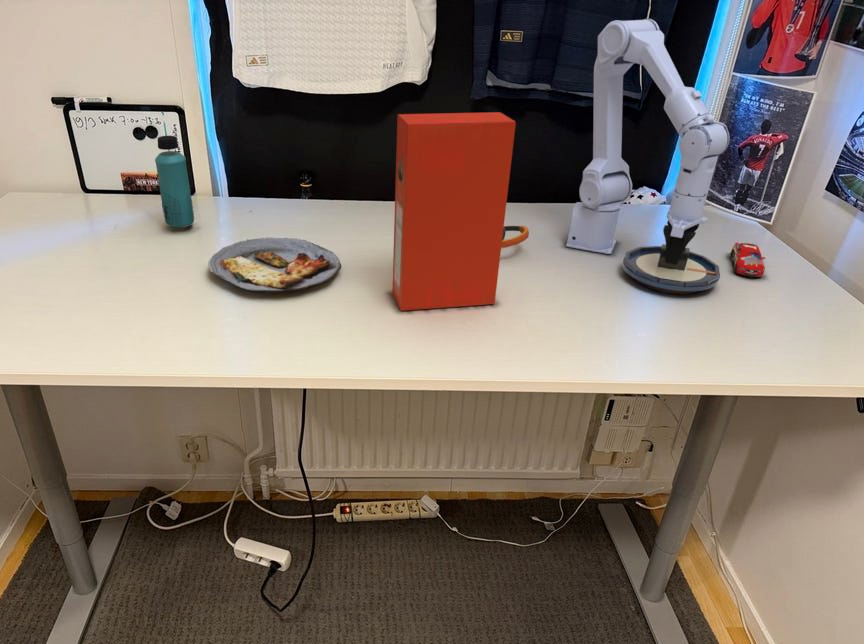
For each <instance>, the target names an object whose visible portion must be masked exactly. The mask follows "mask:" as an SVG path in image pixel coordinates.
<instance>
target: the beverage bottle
mask: <svg viewBox="0 0 864 644" xmlns="http://www.w3.org/2000/svg"><path fill="white" fill-rule="evenodd" d="M157 148H158V149H159V150H165V151H162V152H159V154H157V156H156V157H155V159H154V162H155V166H156V172H157V180H158V186H159V194H160V195H159V196H160V200H161V209H162V214H163V218H164V222H165V224H166V226H168V227H171V228H183V227H189V226H191V225H193V224H194V222H195V218H196V217H195V212H194V210H195V209H194V206H193V205H194V203H193V200H192V193H191V192H192V190H191V186H190V181H189V175H188V167H187V159H186V156H185V155H184V154H182V153H181V152H179V151H176V150H175V149H178V148H179V143H178V138H177V136H174V135H161V136H158V137H157Z"/></svg>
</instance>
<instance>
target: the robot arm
mask: <svg viewBox="0 0 864 644" xmlns="http://www.w3.org/2000/svg"><path fill="white" fill-rule="evenodd" d="M634 64H638V65H641V66H643V67H644V69H645V70H646V71H647V73H648V74H649V76H650V77H651V79H652V80H653V82H654V83H655V84H656V86H657V87H658V88H659V90H660V91H661V94H663V96H664V97H665V101H664V105H663V110H664V112H665V113H666V115H667V117H668V118H669V120H670V122H671V124H672V125H673V127H674V128H675V130H676V132H677V134H678V135H679V137H680V138H679V140H678V150H679V153H680V161H679V164H680V167H679V171H678V174H677V178H676V182H675V186H674V190H673V194H672V197H671V202H670V205H669V210H668V211H667V213H666V219H667V222H666V223H667V224H664V226H663V228H662V232H663V235H664V239H665V245H666V254H665V261H666V263H669V264H674V265H677V263H678V262H679V260H680V258H681V256H682V253H683V251H684V249H685V248H687V246H688V245H689V243H690V242H691V241H692V239H694V237H695V236H696V234H697V232H696V231H697V230H698V229H699V227H700V224H704V225H705V224H707V223H708V219H709V218H708V217H707V216H702V215H703V212H704V208H705V205H706V201H707V198H708V194H709V191H710V188H711V183H712V179H713V176H714V173H715V169H716V166H717V162H718V160H719V159H718V158H719V155H721V154H723V153H724V152H725V151H726V150H727V149H728V147H729V144H730V140H731V139H730V133H729V130H728V127H727V125H726V124H725V123H723V122H721V121H717V120H715V117H714V116H713V114H710V112H709V110H708V109H707V107H706V105H705V103H704V102H703V100H702V99H701V98H702V97H703V95H702V93H701V92H700V90H696V89H695V88H694V87H693V86H692V87H691V86H685V85H684V82H683V79H682V78H681V75H680V74H679V72H678V70H677V68H676V66H675V64H674V62H673V60H672V58H671V56H670V54H669V52H668V50H667V48H666V45H665V34H664V33H663V31H662V30H660V27H659V25H658V23H657V22H656V21H655V20H653V19H652V18H644V19H635V20H633V19H632V20H619V19H618V20H617V19H615V20H612V21H610V22H609V23H607V25H606V26H605V27H604V28H603V29H602V31H601V32H600V33H599V34H598V35H597V55H596V59H595V62H594V66H593V124H592V125H593V126H592V127H593V132H592V133H593V135H592V137H593V138H592V141H593V142H592V160H591V162H590V163H589V164H588V165H586V167H585V168H584V170H583V171H582V179H581V183H580V186H579V199H580V201H579V202H578V201H576V202H575V204H574V207H573V210H572V213H571V219H570V223H569V228H568V234H567V235H568V236H567V241H566V244H565V247H567V248H571V249H577V250H583V251H588V252H594V253H600V254H605V255H611V254H612V253H613V250H614V248H615V246H616V243H617V240H616V239H615V234H616V229H617V225H618V219H619V215H620V211H621V207H623V205H624V202H625V201H626V200H628V199H629V198H630V196H631V195H632V192H633V182H632V179H631V176H630V166H629V165H628V162H626V161H625V160H624V159H623V158H622V144H623V141H622V140H623V102H624V101H623V99H624V98H623V97H624V92H623V91H624V75H625V74H626V73H627V72H628V70H630V68H631V67H632V66H633V65H634Z"/></svg>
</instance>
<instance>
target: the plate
mask: <svg viewBox="0 0 864 644" xmlns="http://www.w3.org/2000/svg"><path fill="white" fill-rule="evenodd" d="M665 254H666V244H661V245H651V246H649V245H647V246H638V247H635V248H633V249H631V250H627V251H626V252H625V255H624V257H623V258H622V263H621V267H622V269H623V271H624V272H625V273H626V274H627V275H629V276H630V277H631V278H632V279H635V280H636V279H637V280H639V281H641V282H643V283H646V284H649V285H652V286H655V287H659V288H663V289H669V290H676V291H697V292H699V291H700V292H701V291H706V290H710V289H712V288H714V287H716V286H717V285H718V284H719V282H720V280H721V273H720V266H719V265H718V264H716V263H715V262H714V261H712V260H711V259H710V258H708V257H707V256H705V255H702V254H699V253H697V252H693V251H690V247H685V249H684V251H683V253H682V256H681V258H680V260H679V262H678V263H677V265H674V264H669V263H666V261H665ZM637 280H636V281H637Z"/></svg>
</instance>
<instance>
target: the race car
mask: <svg viewBox="0 0 864 644" xmlns="http://www.w3.org/2000/svg"><path fill="white" fill-rule="evenodd" d="M765 259H766V257H765V256H762V252H761V250H760V247H759V246H758V245H757V244H754V243H751V242H743V241H737V242H736V243H734V245H733V247H732V248H731V252H730V260H731V262H732V266H733V269H734V271H733V272H734V274H738V275H741V276H746V277H753V278H754V277H755V278H758V277H760V278H761V277H763V275H764V273H765V269H766V267H765V264H764V260H765Z"/></svg>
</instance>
